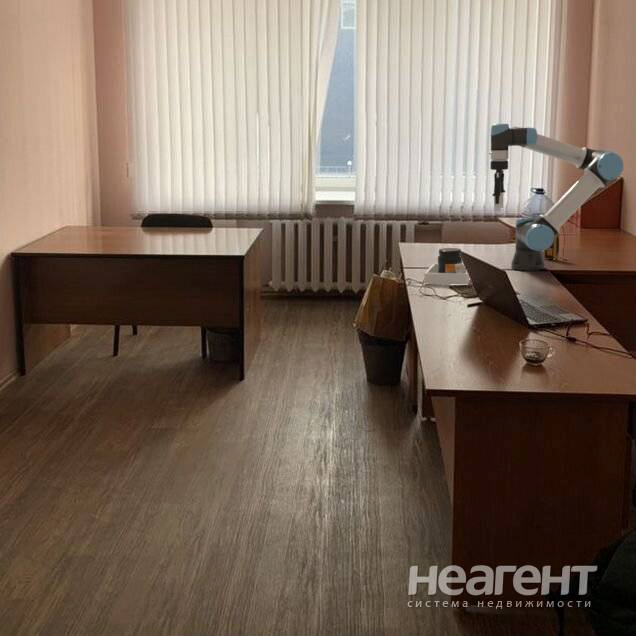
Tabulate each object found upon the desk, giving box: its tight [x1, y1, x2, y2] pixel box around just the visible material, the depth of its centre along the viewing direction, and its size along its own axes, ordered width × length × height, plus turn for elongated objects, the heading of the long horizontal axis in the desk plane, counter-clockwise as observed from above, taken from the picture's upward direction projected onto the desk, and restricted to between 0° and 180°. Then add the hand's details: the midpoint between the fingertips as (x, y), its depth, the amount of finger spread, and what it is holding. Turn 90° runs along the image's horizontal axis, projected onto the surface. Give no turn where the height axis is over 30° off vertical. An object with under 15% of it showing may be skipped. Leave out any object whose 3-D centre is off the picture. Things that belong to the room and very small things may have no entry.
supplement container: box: [437, 247, 463, 274], centre depth 434 cm, size 10×10×12 cm
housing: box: [423, 263, 470, 286], centre depth 434 cm, size 24×18×5 cm
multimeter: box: [542, 225, 566, 261], centre depth 480 cm, size 15×10×20 cm
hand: (498, 209), depth 439 cm, fingers open, 13 cm apart
